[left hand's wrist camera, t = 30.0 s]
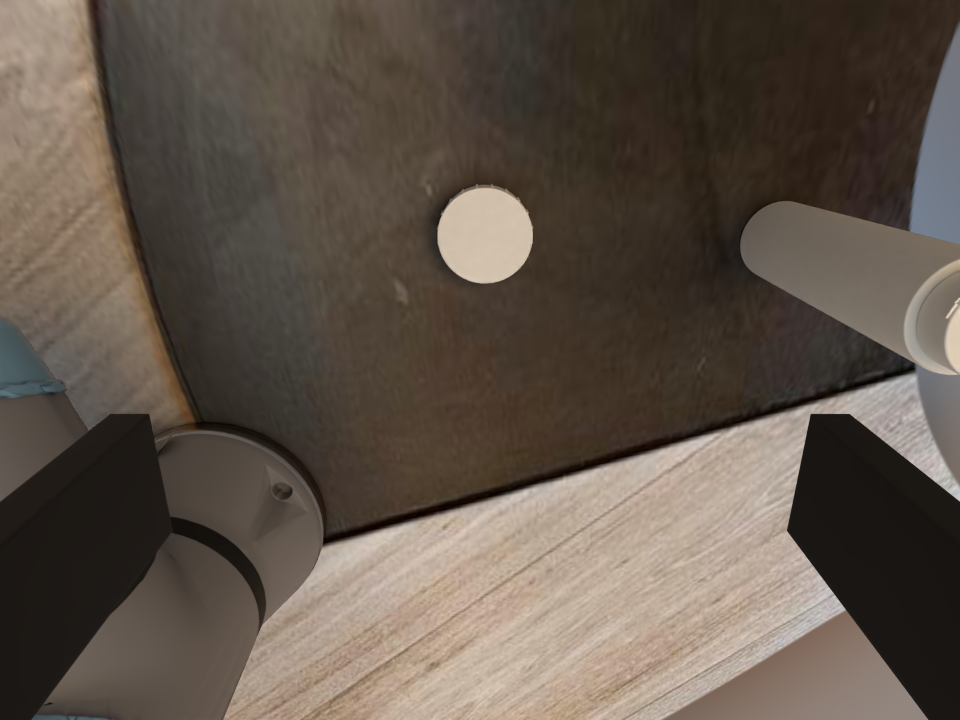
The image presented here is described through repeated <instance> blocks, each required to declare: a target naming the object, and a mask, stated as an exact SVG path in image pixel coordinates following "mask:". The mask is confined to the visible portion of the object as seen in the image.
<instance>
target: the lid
mask: <svg viewBox="0 0 960 720" xmlns="http://www.w3.org/2000/svg"><path fill="white" fill-rule="evenodd" d="M528 214H529V213H528V211H527V209H525V208H524V206H523V205H522V203H521V202H520V199H519V198H518V197H515V196H514V195H513V194H512V193H510V192H509V191H507V189H506V188H505V189H503V188H501V187H497V186H493V184H491V185H478V184H476V186H473V187H469V188H467V189H465V190H464V189H462V191H461V192H460V193H458V194H457V195H456V196H454V197H453V198H451V199H450V201H449V203H448V204H447V206H446V208H445V209H444V210H442V213H441V215H442V216H441V219H440V222H439V224H438V227H437V230H438V237H437V239H438V243H437V244H438V246H439V249H440V252H441V255H442V258H443V259H444V261H445V262H446V264H447V265H448V266H449V267H450V268H451V270H453V271H454V272H455V273H456V274H457V275H459V276H460V277H462V278H464V279H466V280H469V281H472V282H476V283H494V282H498V281H501V280H504V279H506V278H508V277H510V276H511V275H512V274H514V273H515V272H516V271H517V270H518V269H520V267H521V266H522V265H523V264H524V262H525V261H526V259H527V257H528V255H529V253H530V250H531V246H532V243H533V241H532V239H533V232H532V228H533V226H532V224H531V221H530V218H529V216H528Z"/></svg>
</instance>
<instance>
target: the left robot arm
mask: <svg viewBox="0 0 960 720" xmlns="http://www.w3.org/2000/svg"><path fill="white" fill-rule="evenodd" d="M66 390H67V389H66V386H65V384H64V383H63V381H60V380H57V379H55V377H54V376H53V374H52V373H51V372H50V370H49V369H48V367H47V366H46V365H45V363H44V362H43V360H42V359H41V358H40V356H39V355H38V354H37V352H36V351H35V349H34V348H33V347H32V345H31V344H30V342H29V341H28V340H27V338H26V337H25V335H24V334H23V333H22V331H21V330H20V329H19V328H18V327H17V326H16V325H15V324H14V323H12V322H11V321H9V320H8V319H6V318H4V317H2V316H0V720H223V719H224V716H225V714H226V711H227V709H228V706H229V704H230V702H231V699H232V697H233V694H234V692H235V689H236V687H237V684H238V682H239V679H240V677H241V675H242V672H243V670H244V667H245V665H246V662H247V660H248V657H249V655H250V653H251V650H252V648H253V645H254V643H255V640H256V637H257V635H258V633H259V631H260V628H261V626H262V624H263V623H264V622H265V621H266V620H267V619H268V618H269V617H270V616H272V615H273V614H274V613H275V612H276V611H277V610H278V609H279V608H280V607H281V606H282V605H283V604H284V603H285V602H286V601H287V600H288V599H289V598H290V597H291V596H292V595H293V594H294V593H295V592H296V591H297V590H298V589H299V588H300V586H301V585H302V584H303V583H304V581H305V580H306V579H307V577H308V576H309V575H310V573H311V572H312V570H313V568H314V566H315V564H316V562H317V560H318V557H319V554H320V551H321V549H322V546H323V543H324V539H325V534H326V512H325V506H324V502H323V499H322V496H321V493H320V491H319V489H318V487H317V485H316V483H315V481H314V480H313V478H312V476H311V475H310V473H309V472H308V471H307V470H306V468H305V467H304V466H303V465H302V464H301V463H300V462H299V461H298V460H297V458H295V457H294V456H293V455H292V454H291V453H290V452H289V451H287V450H286V449H285V448H283V447H282V446H280V445H279V444H277V443H276V442H274V441H272V440H271V439H269V438H267V437H265V436H263V435H261V434H258V433H256V432H253V431H251V430H247V429H244V428H241V427H236V426H232V425H226V424H217V423H199V424H191V425H185V426H181V427H177V428H174V429H171V430H168V431H166V432H164V433H161V434H159V435H157V436H156V437H154V435H153V431H152V426H151V421H150V416H149V414H110V415H109V416H107V417H106V418H105V419H104V420H102V421H101V422H100V423H99V424H97V425H96V426H95V427H94V428H92V429H91V430H90V431H88V429H87V428H86V426H85V425H84V423H83V422H82V420H81V418H80V417H79V415H78V414H77V412H76V410H75V409H74V407H73V406H72V404H71V402H70V401H69V399H68V397H67V396H66V394H65V392H64V391H66ZM787 531H788V533H789V534H790V535H791V537H792V538H793V539H794V541H795V542H796V543H797V545H798V546H799V547H800V549H801V550H802V551H803V553H804V554H805V555H806V557H807V558H808V559H809V561H810V562H811V564H812V565H813V566H814V568H815V569H816V570H817V572H818V573H819V574H820V576H821V577H822V578H823V580H824V581H825V582H826V584H827V585H828V586H829V588H830V589H831V590H832V592H833V593H834V594H835V596H836V597H837V598H838V600H839V601H840V602H841V604H842V605H843V606H844V608H845V609H846V610H847V612H848V613H849V614H850V616H851V617H852V618H853V619H854V621H855V622H856V624H857V625H858V626H859V628H860V629H861V630H862V632H863V633H864V634H865V636H866V637H867V638H868V640H869V641H870V642H871V644H872V645H873V646H874V648H875V649H876V650H877V652H878V653H879V654H880V656H881V657H882V658H883V660H884V661H885V662H886V664H887V665H888V666H889V668H890V669H891V670H892V672H893V673H894V674H895V676H896V677H897V678H898V680H899V681H900V682H901V684H902V685H903V686H904V688H905V689H906V690H907V692H908V693H909V694H910V696H911V697H912V698H913V700H914V701H915V702H916V704H917V705H918V706H919V708H920V709H921V710H922V712H923V713H924V714H925V716H926V717H927V718H928V720H960V501H958V500H957V499H956V498H955V497H953V496H952V495H951V494H950V493H948V492H947V491H946V490H944V489H943V488H942V487H941V486H939V485H938V484H937V483H936V482H934V481H933V480H932V479H931V478H929V477H928V476H927V475H926V474H924V473H923V472H922V471H921V470H919V469H918V468H917V467H916V466H914V465H913V464H912V463H910V462H909V461H908V460H907V459H905V458H904V457H903V456H902V455H900V454H899V453H898V452H897V451H895V450H894V449H893V448H892V447H890V446H889V445H888V444H887V443H885V442H884V441H883V440H882V439H880V438H879V437H878V436H876V435H875V434H874V433H873V432H871V431H870V430H869V429H868V428H866V427H865V426H864V425H863V424H861V423H860V422H859V421H858V420H856V419H855V418H854V417H853V416H851V415H850V414H811V416H810V421H809V426H808V431H807V435H806V440H805V445H804V450H803V455H802V460H801V465H800V470H799V475H798V480H797V484H796V489H795V494H794V499H793V504H792V509H791V514H790V519H789V524H788V529H787Z"/></svg>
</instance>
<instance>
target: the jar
mask: <svg viewBox="0 0 960 720" xmlns="http://www.w3.org/2000/svg"><path fill="white" fill-rule="evenodd" d="M740 250H741V256H742V259H743V261H744V263H745V265H746V266H747V267H748V268H749V270H751V271H752V272H753V273H754V274H756V275H758V276H760V277H761V278H763V279H765V280H767V281H769V282H770V283H772V284H774V285H776V286H778V287H779V288H781V289H783V290H785V291H786V292H788V293H790V294H792V295H794V296H795V297H797V298H799V299H801V300H803V301H804V302H806V303H808V304H810V305H812V306H813V307H815V308H817V309H819V310H821V311H822V312H824V313H826V314H828V315H830V316H831V317H833V318H835V319H837V320H839V321H840V322H842V323H844V324H846V325H848V326H849V327H851V328H853V329H855V330H856V331H858V332H860V333H862V334H864V335H865V336H867V337H869V338H871V339H873V340H874V341H876V342H878V343H880V344H882V345H883V346H885V347H887V348H889V349H891V350H892V351H894V352H896V353H898V354H900V355H901V356H903V357H905V358H907V359H909V360H910V361H912V362H914V363H916V364H917V365H919V366H921V367H923V368H925V369H927V370H929V371H931V372H935V373H939V374H945V375H957V374H959V375H960V245H958V244H955V243H951V242H947V241H943V240H939V239H935V238H931V237H927V236H924V235H920V234H916V233H912V232H908V231H904V230H900V229H897V228H893V227H889V226H885V225H881V224H877V223H873V222H870V221H866V220H862V219H858V218H854V217H850V216H846V215H842V214H839V213H835V212H831V211H827V210H823V209H819V208H815V207H812V206H808V205H804V204H800V203H796V202H791V201H781V202H776V203H772V204H770V205H767V206H766V207H764V208H762V209H761V210H759V211H758V212H757V213H756V214H755V215H754V216H753V217H752V218H751V219H750V220H749V222H748V223H747V225H746V226H745V228H744V231H743V233H742V237H741V242H740Z"/></svg>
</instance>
